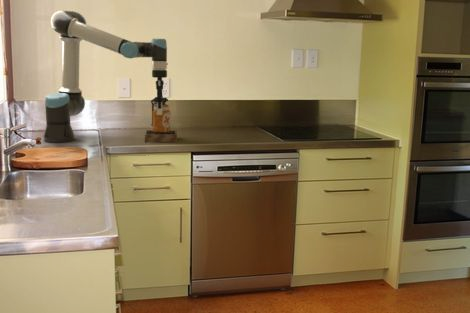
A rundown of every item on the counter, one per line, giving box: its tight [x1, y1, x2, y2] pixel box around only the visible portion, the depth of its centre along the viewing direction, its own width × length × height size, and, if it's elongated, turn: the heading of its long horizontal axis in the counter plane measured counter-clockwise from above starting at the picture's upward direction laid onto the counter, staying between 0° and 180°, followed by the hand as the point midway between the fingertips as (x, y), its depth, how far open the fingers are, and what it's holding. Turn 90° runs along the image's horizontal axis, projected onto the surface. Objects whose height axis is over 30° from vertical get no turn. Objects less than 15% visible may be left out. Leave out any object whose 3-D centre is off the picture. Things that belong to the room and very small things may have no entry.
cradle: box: [144, 129, 178, 144], centre depth 284 cm, size 16×14×4 cm
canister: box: [150, 96, 171, 135], centre depth 283 cm, size 9×11×20 cm
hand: (159, 113), depth 282 cm, fingers closed on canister, 9 cm apart
